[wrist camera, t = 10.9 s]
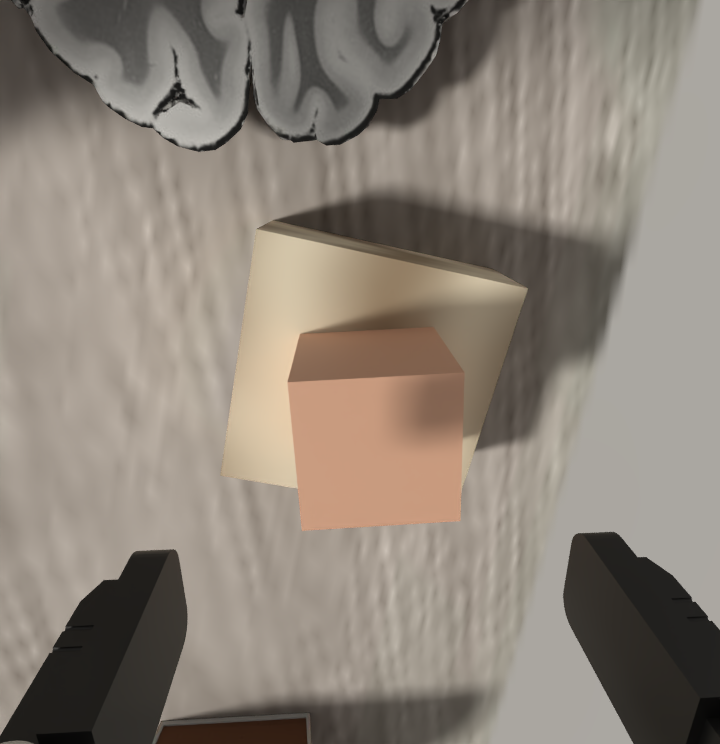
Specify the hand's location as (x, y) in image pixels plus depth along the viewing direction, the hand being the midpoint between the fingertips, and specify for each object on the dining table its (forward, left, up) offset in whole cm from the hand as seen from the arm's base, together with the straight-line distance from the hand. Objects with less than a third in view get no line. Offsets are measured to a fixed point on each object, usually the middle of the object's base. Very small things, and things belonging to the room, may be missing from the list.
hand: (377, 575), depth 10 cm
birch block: (0, 0, -15) cm, 15 cm away
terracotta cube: (0, 0, -10) cm, 10 cm away
